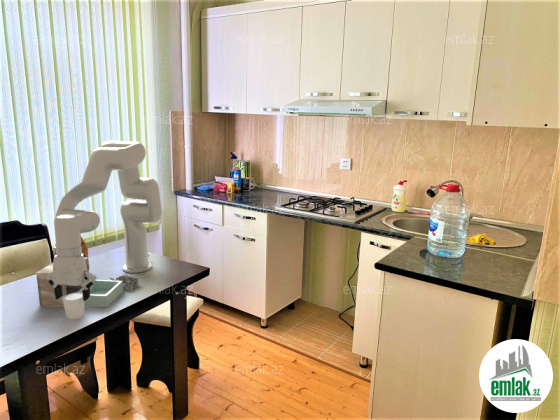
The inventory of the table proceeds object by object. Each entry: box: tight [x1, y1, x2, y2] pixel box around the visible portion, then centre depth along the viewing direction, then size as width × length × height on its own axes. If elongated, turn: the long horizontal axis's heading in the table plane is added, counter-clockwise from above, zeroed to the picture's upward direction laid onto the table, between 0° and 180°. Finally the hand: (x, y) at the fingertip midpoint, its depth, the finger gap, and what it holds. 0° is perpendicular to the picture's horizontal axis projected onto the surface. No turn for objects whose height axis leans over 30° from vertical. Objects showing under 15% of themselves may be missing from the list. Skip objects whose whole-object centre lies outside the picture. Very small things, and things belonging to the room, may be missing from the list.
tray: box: [76, 279, 124, 308], centre depth 156 cm, size 14×12×4 cm
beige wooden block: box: [35, 257, 90, 308], centre depth 156 cm, size 17×10×13 cm, turn 177°
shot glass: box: [63, 292, 85, 320], centre depth 143 cm, size 7×7×7 cm
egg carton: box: [109, 274, 141, 292], centre depth 168 cm, size 11×8×4 cm
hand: (72, 298), depth 142 cm, fingers open, 9 cm apart
